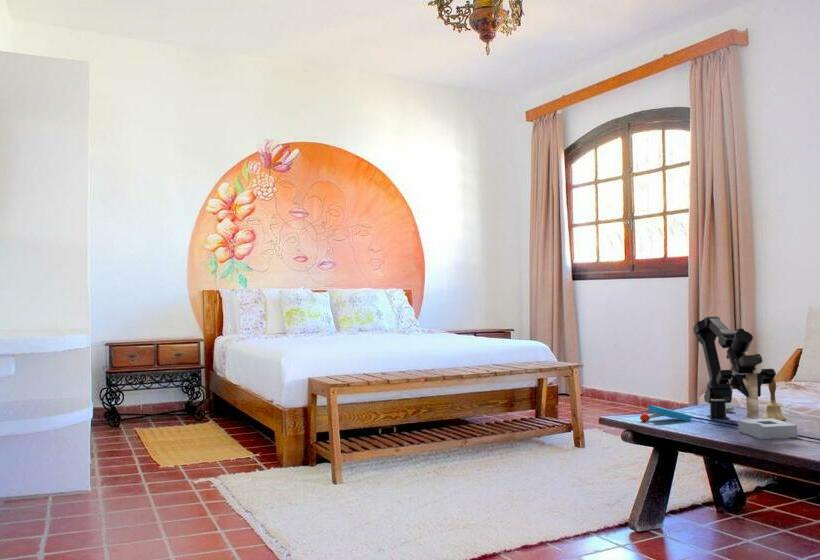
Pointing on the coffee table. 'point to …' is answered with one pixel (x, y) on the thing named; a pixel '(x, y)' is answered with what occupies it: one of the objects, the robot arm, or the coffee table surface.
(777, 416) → the hand bell
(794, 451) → the coffee table surface
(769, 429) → the socket block
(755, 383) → the birch peg
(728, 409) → the pacifier
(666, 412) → the lever
